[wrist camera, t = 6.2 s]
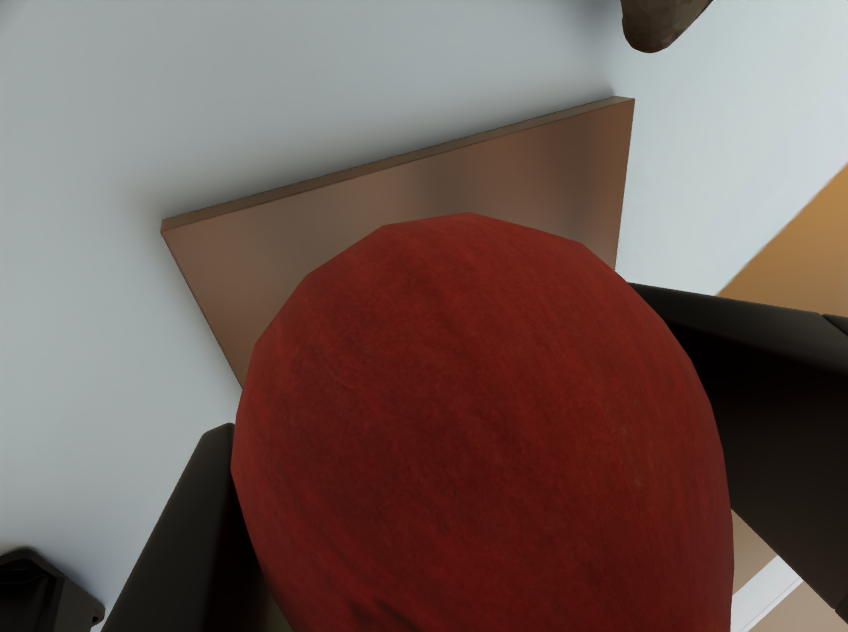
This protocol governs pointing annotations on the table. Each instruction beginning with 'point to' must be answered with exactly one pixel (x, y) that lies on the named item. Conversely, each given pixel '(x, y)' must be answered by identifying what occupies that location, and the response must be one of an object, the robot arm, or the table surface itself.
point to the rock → (658, 21)
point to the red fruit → (480, 444)
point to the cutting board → (403, 211)
